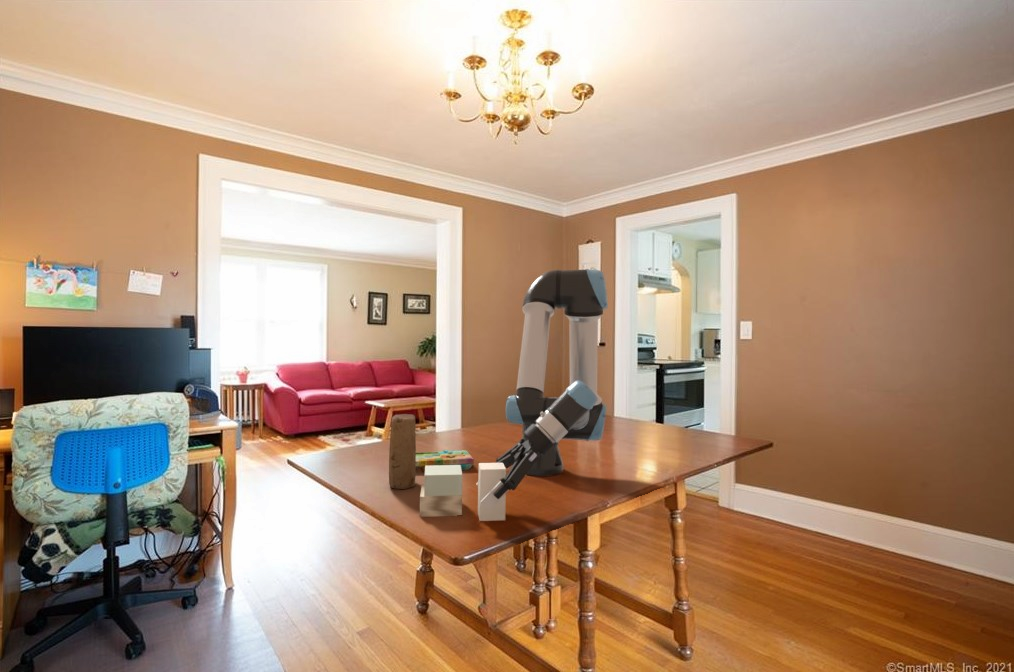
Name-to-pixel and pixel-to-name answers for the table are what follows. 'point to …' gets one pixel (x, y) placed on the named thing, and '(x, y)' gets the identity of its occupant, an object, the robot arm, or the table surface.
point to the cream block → (486, 482)
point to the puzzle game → (444, 459)
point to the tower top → (443, 480)
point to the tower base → (440, 505)
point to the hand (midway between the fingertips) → (481, 496)
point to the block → (402, 452)
